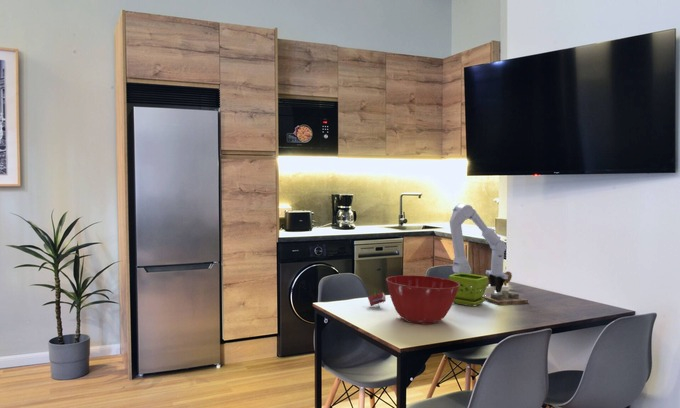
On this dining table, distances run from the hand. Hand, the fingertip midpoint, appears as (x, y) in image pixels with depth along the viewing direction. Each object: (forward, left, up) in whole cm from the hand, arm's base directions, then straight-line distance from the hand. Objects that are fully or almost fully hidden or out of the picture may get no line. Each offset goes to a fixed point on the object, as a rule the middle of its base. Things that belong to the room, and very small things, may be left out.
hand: (495, 291), depth 273 cm
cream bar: (0, 0, -2) cm, 2 cm away
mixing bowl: (-64, -35, -2) cm, 73 cm away
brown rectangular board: (-6, -14, -2) cm, 15 cm away
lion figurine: (+13, +14, -2) cm, 20 cm away
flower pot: (-27, -14, -2) cm, 30 cm away
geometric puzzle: (-71, -10, -2) cm, 72 cm away
